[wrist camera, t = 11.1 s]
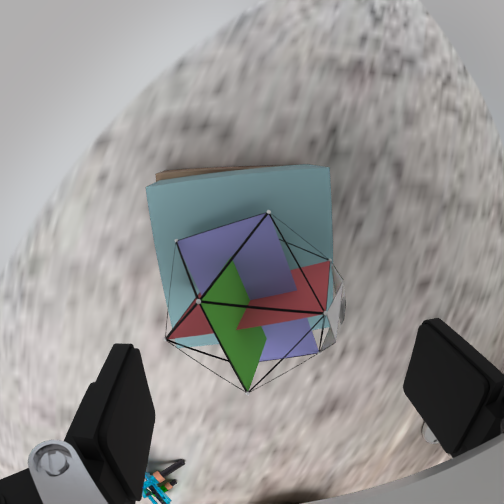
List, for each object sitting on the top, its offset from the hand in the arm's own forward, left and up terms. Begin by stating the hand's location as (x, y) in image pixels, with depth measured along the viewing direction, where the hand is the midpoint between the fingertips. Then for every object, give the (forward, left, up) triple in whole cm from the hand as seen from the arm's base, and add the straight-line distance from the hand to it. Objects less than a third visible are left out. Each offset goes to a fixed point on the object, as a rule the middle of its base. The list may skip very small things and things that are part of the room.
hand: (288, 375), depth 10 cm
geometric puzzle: (+1, -1, -8) cm, 8 cm away
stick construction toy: (+11, +28, -15) cm, 34 cm away
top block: (+1, -1, -12) cm, 12 cm away
